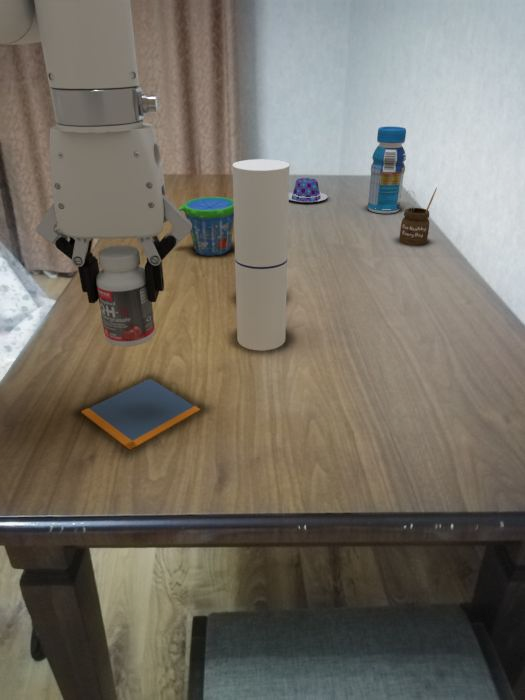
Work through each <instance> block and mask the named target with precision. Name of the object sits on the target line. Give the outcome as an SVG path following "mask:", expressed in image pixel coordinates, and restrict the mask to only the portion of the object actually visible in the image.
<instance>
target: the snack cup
mask: <svg viewBox="0 0 525 700" xmlns="http://www.w3.org/2000/svg"><path fill="white" fill-rule="evenodd" d="M178 209H179V210H180V211H181V212H182V211H183V212H184V216H185V217H186V218H187V219H188V220H189V221H190V222H191V223H192V228H191V231H190V235H191V241H192V245H193V249H194V251H195V252H196V253H197V254H198V255H201V256H203V257H204V256H205V257H214V256H222V255H224V254H227V253H228V252H229V251H231V247H232V239H233V232H234V202H233V198H232V199H231V198H229V197H225V196H224V197H223V196H203V197H197V198H193V199H190V200H187V201H186V202H184V204H183V205H181V206H179V207H178ZM173 228H174V227H173V226H172V229H173Z"/></svg>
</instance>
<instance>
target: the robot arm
mask: <svg viewBox="0 0 525 700" xmlns="http://www.w3.org/2000/svg"><path fill="white" fill-rule="evenodd" d="M37 43H41V47H42V54H43V60H44V64H45V65H44V66H45V70H46V76H47V83H48V87H49V92H50V98H51V104H52V108H53V109H52V110H53V112H54V113H53V114H54V119H55V125H53V126H51V127H50V128H49V166H50V167H49V169H50V171H49V172H50V183H51V191H52V192H51V193H52V198H53V199H52V200H53V203H52V204H51V205H50V208H48V211H47V212H46V213H45V215H44V216H43V218H42V219H41V221H40V222H39V223H38V225H37V227H36V233H37V234H38V235H39V236H40V237H42V238H44V239H45V240H46V241H48V242H49V243H50V244H52V245H55V247H56V248H57V249H58V251H60V252H61V253H62V254H63V255H65V256H66V257H67V258H69V259H70V260H71V262H72V264H73V265H74V266H75V267H77V269H78V274H79V280H80V285H81V290H82V292H83V293H86V294H87V299H88V300H87V301H88V303H89V304H96V303H97V302H98V301H99V298H98V292H97V286H96V277H97V274H98V273H99V272H100V265H99V259H98V258H96V255H95V256H94V254H93V253H92V250H93V244H94V240H97V239H98V240H99V239H100V240H101V239H103V240H104V239H105V240H106V239H138V241H139V244H140V246H141V248H142V250H143V252H144V254H145V256H146V262H145V265H144V269H145V277H146V285H147V294H148V301H150V302H152V303H156V302H157V299H158V297H159V294H160V292H163V291H164V288H165V280H164V269H163V260H164V259H165V258H166V257H167V256H168V254H170V253H171V252H172V250H174V248H175V247H176V246H177V245H178V243H180V242H181V241H182V240H183V239H185V238H186V237H187V236H188V235H189V234H191V228H192V223H191V222H190V221H189V220H188V219H187V218H186V215H185V214H184V213H183V212H182V210H181V211H180V210H179V207H177V206H176V205H175V204H174V203H173V202H172V201H171V200H170V199H169V198H168V196H167V191H166V189H167V188H166V182H165V175H164V169H163V164H162V158H161V153H160V149H159V145H158V140H157V135H156V133H155V130H154V127H153V124H151V123H148V122H147V123H146V122H144V118H145V116H146V115H147V114H150V113H153V112H154V113H156V112H158V110H159V102H158V97H157V95H150V94H148V93H145V91H144V90H142V86H139V85H140V81H139V71H138V61H137V60H138V59H137V50H136V43H135V32H134V23H133V14H132V4H131V0H0V45H3V46H5V45H7V46H10V45H14V46H15V45H31V44H37ZM166 222H169V223H170V224H171V225H172V229H170V231H169V232H167V233H166V234H165V235H164V236H163V237H162V238H161V239H160V237H159V235H160V234H161V233H162V232H163V230H164V224H165V223H166ZM173 227H174V228H173Z"/></svg>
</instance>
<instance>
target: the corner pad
mask: <svg viewBox="0 0 525 700" xmlns="http://www.w3.org/2000/svg"><path fill="white" fill-rule="evenodd" d="M200 411H202V410H201V408H199V407H197V406H196V405H194V404H192V403H190V402H189V401H188V400H186V399H184V398H182V397H181V396H179V395H177V394H176V393H174V392H172V391H171V390H169V389H168V388H166V387H164V386H163V385H162V384H159V383H158V382H156V381H154V379H151V378H147V379H145V380H144V381H142V382H140V383H138V384H136V385H134V386H132V387H130V388H128V389H126V390H124V391H121V392H120V393H117V394H115V395H113V396H111V397H109V398H107V399H105V400H103V401H101V402H98V403H96V404H95V405H93V406H90V407H88V408H85V409H83V410H81V414H82V415H84V416H85V417H86V418H87V419H88V420H90V421H91V422H92V423H94V424H95V425H96V426H98V428H100V429H101V430H102V431H104V432H105V433H107V434H108V435H109V436H110V437H112V438H113V439H114V440H116V441H117V442H118V443H120V445H122V446H123V447H125V448H126V449H127V450H129V451H130V452H131V451H133V450H134V449H137V448H138V447H140V446H142V445H143V444H145V443H147V442H149V441H150V440H152V439H154V438H155V437H157V436H159V435H161V434H163V433H164V432H166V431H167V430H169V429H171V428H173V427H175V426H176V425H178V424H180V423H181V422H184V421H185V420H187V419H189V418H190V417H192V416H194V415H195V414H197V413H199V412H200Z"/></svg>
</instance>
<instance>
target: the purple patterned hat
mask: <svg viewBox="0 0 525 700" xmlns="http://www.w3.org/2000/svg"><path fill="white" fill-rule="evenodd" d="M293 194H296V195H298V196H305V197H311V196H317V195H318V194H320V196H318V197H315V198H313V197H312V198H299V197H296V196H293ZM326 199H328V195H327V194H325V193H322V192H321V191H320V187H319V182H318V180H317V179H315V178H312V177H301V178H298V179H296V181H295V183H294V187H293V191H291V192H290V191H289V201H293V202H296V203H306V204H307V203H316V202H322V201H324V200H325V201H326Z"/></svg>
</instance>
